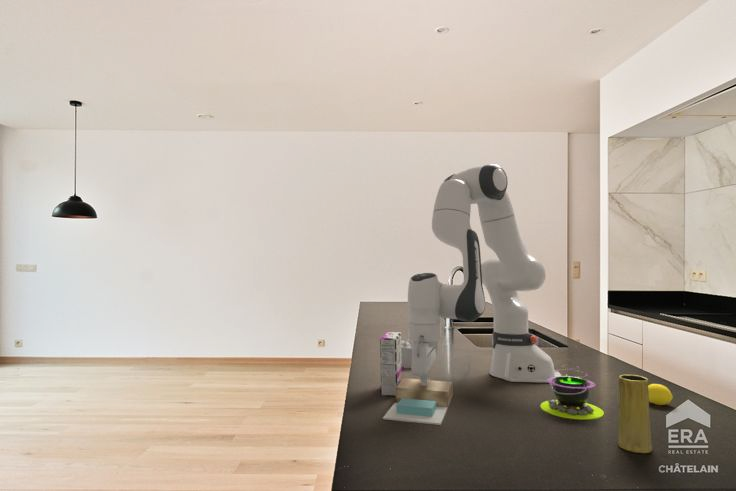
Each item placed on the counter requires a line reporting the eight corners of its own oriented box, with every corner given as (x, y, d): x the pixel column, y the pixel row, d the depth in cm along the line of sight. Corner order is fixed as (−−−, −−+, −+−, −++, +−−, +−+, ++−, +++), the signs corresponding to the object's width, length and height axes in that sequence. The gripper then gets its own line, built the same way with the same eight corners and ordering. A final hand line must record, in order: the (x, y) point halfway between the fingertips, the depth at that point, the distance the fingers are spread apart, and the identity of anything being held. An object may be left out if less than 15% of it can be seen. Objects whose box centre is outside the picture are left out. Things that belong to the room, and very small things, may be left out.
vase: (611, 442, 97) (610, 374, 98) (639, 441, 98) (637, 373, 98) (630, 454, 91) (629, 382, 92) (659, 453, 92) (658, 381, 92)
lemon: (669, 404, 124) (672, 384, 123) (673, 410, 119) (676, 390, 118) (639, 398, 126) (642, 378, 126) (642, 403, 121) (645, 383, 121)
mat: (447, 408, 119) (447, 407, 119) (440, 425, 108) (440, 423, 108) (394, 404, 123) (394, 402, 123) (383, 419, 112) (383, 417, 112)
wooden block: (452, 396, 130) (452, 381, 130) (448, 407, 121) (448, 391, 121) (404, 392, 134) (404, 378, 134) (396, 402, 125) (396, 387, 125)
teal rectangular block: (432, 408, 112) (432, 416, 112) (436, 401, 118) (436, 409, 118) (396, 405, 115) (396, 413, 115) (401, 398, 121) (401, 405, 121)
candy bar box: (386, 385, 142) (385, 331, 142) (402, 385, 141) (401, 332, 141) (379, 395, 131) (379, 337, 131) (397, 396, 130) (396, 338, 130)
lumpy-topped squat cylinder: (428, 361, 174) (427, 338, 174) (423, 369, 162) (423, 344, 162) (400, 359, 177) (400, 337, 177) (394, 367, 164) (394, 343, 164)
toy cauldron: (527, 405, 122) (527, 363, 123) (569, 398, 128) (568, 358, 129) (573, 423, 109) (573, 376, 109) (617, 414, 115) (617, 370, 115)
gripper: (429, 340, 115) (430, 396, 115) (440, 327, 134) (441, 375, 134) (405, 339, 117) (405, 394, 116) (419, 327, 136) (420, 374, 136)
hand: (425, 384), depth 125 cm, fingers closed
